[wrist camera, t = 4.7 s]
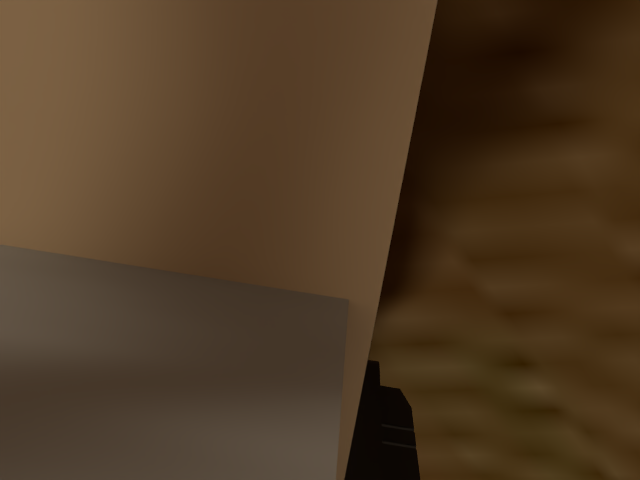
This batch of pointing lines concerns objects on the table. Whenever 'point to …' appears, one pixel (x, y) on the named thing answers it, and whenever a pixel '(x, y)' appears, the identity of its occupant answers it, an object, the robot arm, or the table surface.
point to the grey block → (163, 374)
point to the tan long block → (216, 141)
